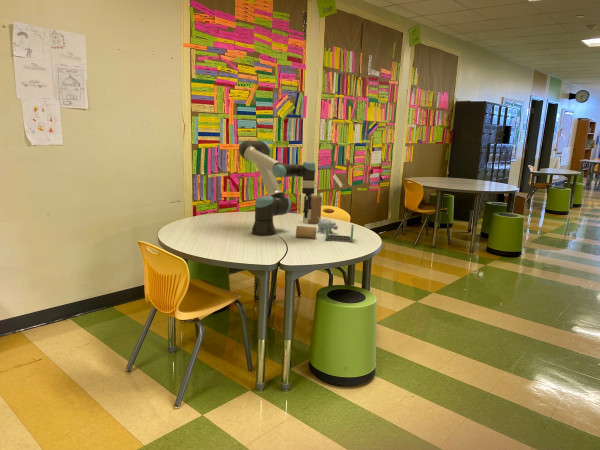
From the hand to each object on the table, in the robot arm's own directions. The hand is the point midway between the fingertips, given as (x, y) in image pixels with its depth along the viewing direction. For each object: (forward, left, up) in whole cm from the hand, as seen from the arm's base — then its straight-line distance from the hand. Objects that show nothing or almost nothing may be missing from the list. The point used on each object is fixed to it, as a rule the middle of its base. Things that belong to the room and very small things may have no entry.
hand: (307, 221), depth 268 cm
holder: (+21, +1, -10) cm, 23 cm away
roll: (0, 0, -11) cm, 11 cm away
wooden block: (-2, +51, -11) cm, 52 cm away
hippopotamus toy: (+11, +20, -11) cm, 25 cm away
